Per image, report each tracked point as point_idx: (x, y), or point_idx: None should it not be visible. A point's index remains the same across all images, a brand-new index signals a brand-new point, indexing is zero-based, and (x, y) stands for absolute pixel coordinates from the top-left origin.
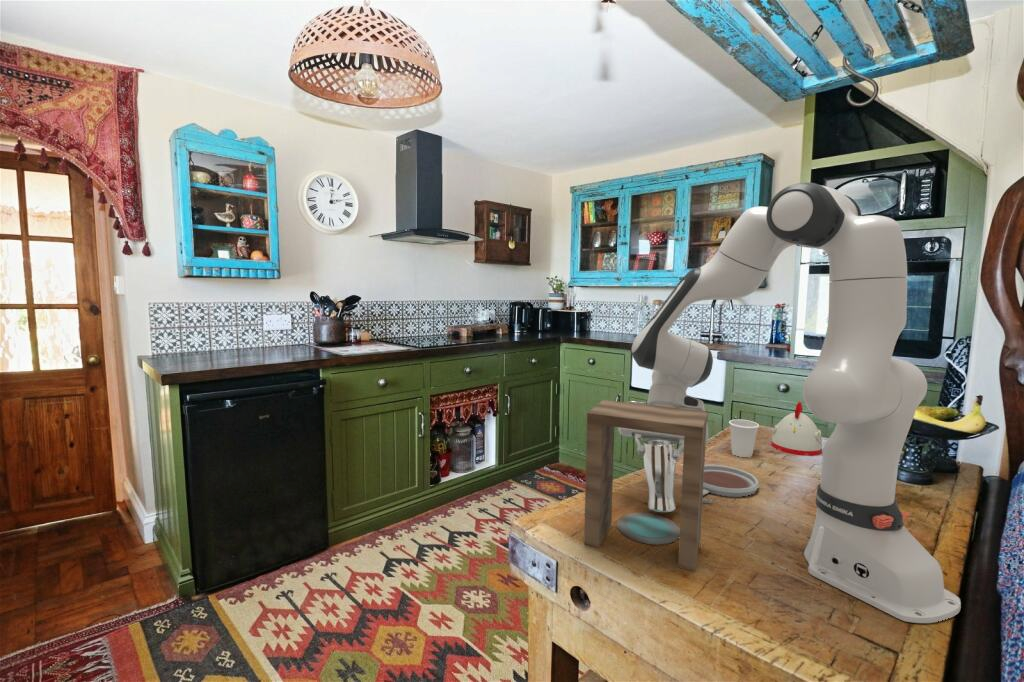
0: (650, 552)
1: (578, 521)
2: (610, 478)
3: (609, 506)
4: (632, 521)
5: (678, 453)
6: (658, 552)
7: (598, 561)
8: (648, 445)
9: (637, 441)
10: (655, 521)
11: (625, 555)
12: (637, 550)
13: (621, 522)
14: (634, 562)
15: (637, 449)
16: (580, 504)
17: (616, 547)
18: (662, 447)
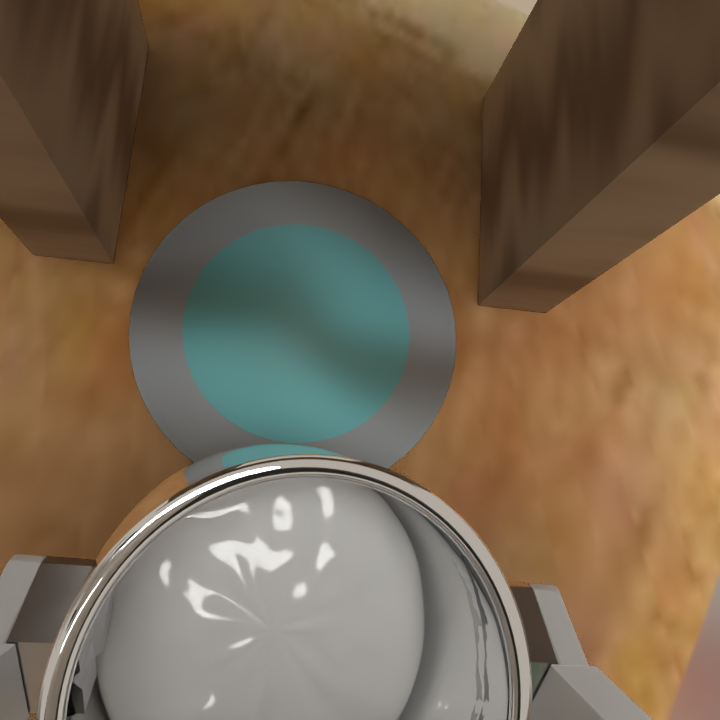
0: (269, 124)
1: (628, 289)
2: (618, 105)
3: (526, 204)
4: (385, 358)
5: (3, 593)
6: (235, 134)
7: (459, 10)
8: (443, 503)
9: (625, 708)
10: (266, 404)
11: (368, 74)
12: (326, 124)
13: (436, 334)
14: (326, 37)
15: (560, 596)
16: (681, 476)
17: (415, 122)
18: (232, 466)
